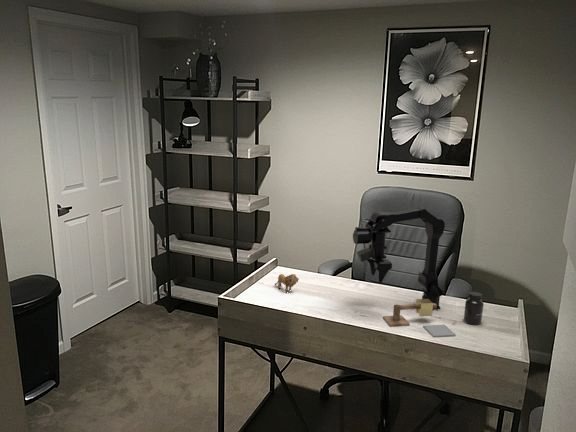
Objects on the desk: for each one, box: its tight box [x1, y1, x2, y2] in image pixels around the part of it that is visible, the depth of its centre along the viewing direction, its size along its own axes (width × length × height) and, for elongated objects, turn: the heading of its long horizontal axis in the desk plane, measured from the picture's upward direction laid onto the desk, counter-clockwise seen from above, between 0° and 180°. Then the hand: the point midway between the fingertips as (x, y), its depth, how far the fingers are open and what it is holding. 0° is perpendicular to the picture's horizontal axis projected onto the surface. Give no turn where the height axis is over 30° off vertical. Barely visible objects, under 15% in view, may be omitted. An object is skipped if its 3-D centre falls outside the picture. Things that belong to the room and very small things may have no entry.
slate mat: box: [422, 324, 457, 338], centre depth 184 cm, size 9×9×1 cm
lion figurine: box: [274, 273, 300, 293], centre depth 223 cm, size 15×5×9 cm, turn 44°
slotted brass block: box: [414, 298, 434, 317], centre depth 192 cm, size 5×5×6 cm
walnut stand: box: [382, 303, 437, 328], centre depth 192 cm, size 20×8×7 cm, turn 99°
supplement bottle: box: [463, 291, 485, 326], centre depth 193 cm, size 7×7×12 cm
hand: (376, 278), depth 200 cm, fingers open, 9 cm apart
